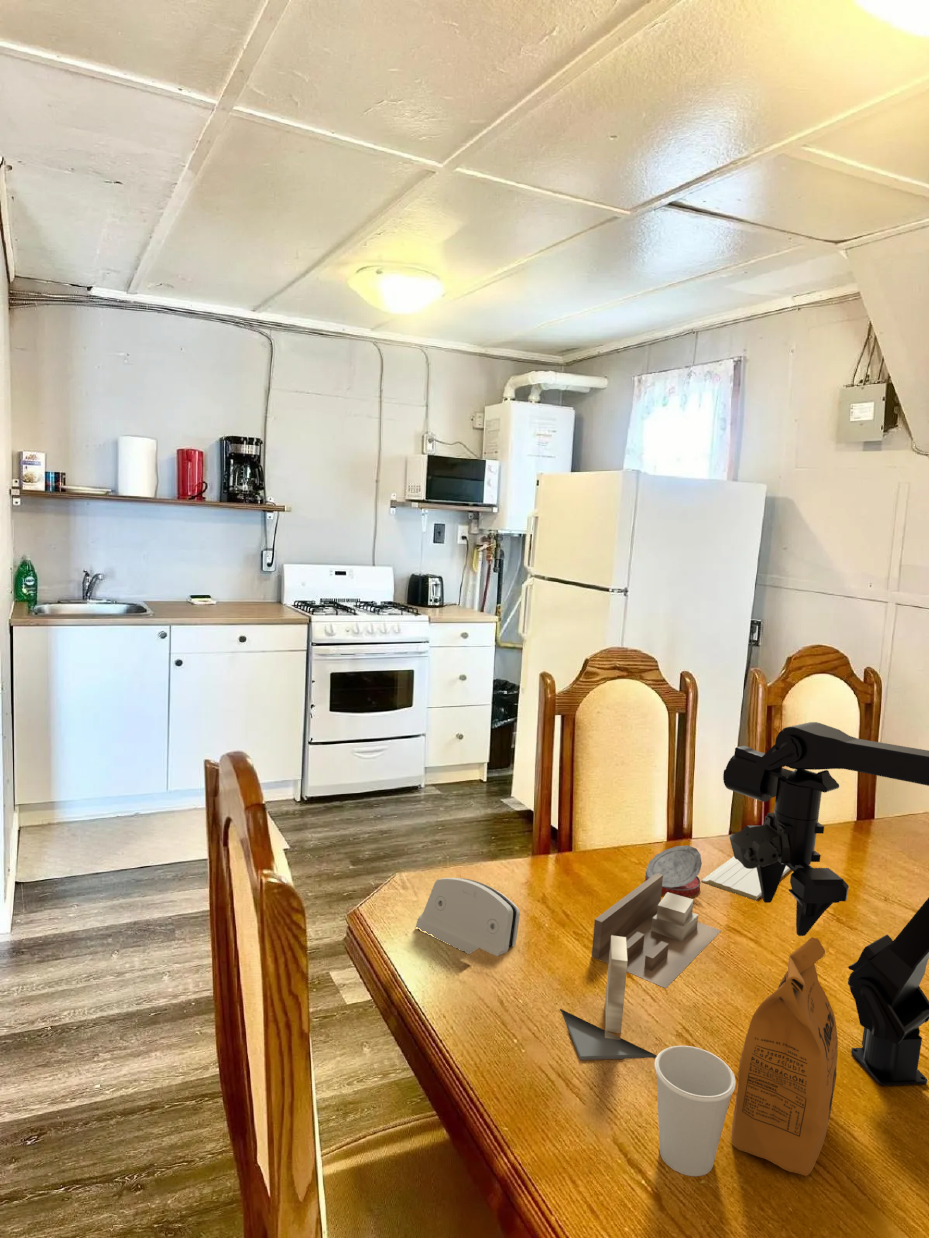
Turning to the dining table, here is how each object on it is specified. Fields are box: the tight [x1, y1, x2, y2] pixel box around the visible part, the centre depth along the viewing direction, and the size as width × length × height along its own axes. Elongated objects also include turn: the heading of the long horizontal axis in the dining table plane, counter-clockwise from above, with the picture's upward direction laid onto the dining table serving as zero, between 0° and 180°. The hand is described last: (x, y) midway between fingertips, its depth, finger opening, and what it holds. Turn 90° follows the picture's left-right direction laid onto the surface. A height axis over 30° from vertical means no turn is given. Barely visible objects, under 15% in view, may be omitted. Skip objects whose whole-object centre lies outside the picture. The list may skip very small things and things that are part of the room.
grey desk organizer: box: [591, 873, 722, 989], centre depth 128 cm, size 12×22×8 cm, turn 142°
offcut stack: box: [651, 892, 699, 942], centre depth 132 cm, size 6×7×4 cm
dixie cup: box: [654, 1045, 737, 1177], centre depth 87 cm, size 8×8×10 cm
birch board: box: [604, 935, 628, 1040], centre depth 107 cm, size 2×6×11 cm, turn 171°
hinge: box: [415, 877, 521, 957], centre depth 129 cm, size 17×5×10 cm, turn 52°
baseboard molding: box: [700, 855, 791, 901], centre depth 163 cm, size 31×3×12 cm
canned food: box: [644, 845, 703, 898], centre depth 149 cm, size 11×10×10 cm
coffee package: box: [731, 937, 839, 1177], centre depth 89 cm, size 10×12×22 cm
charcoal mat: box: [560, 1008, 658, 1061], centre depth 108 cm, size 12×12×1 cm
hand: (783, 918), depth 114 cm, fingers open, 9 cm apart
